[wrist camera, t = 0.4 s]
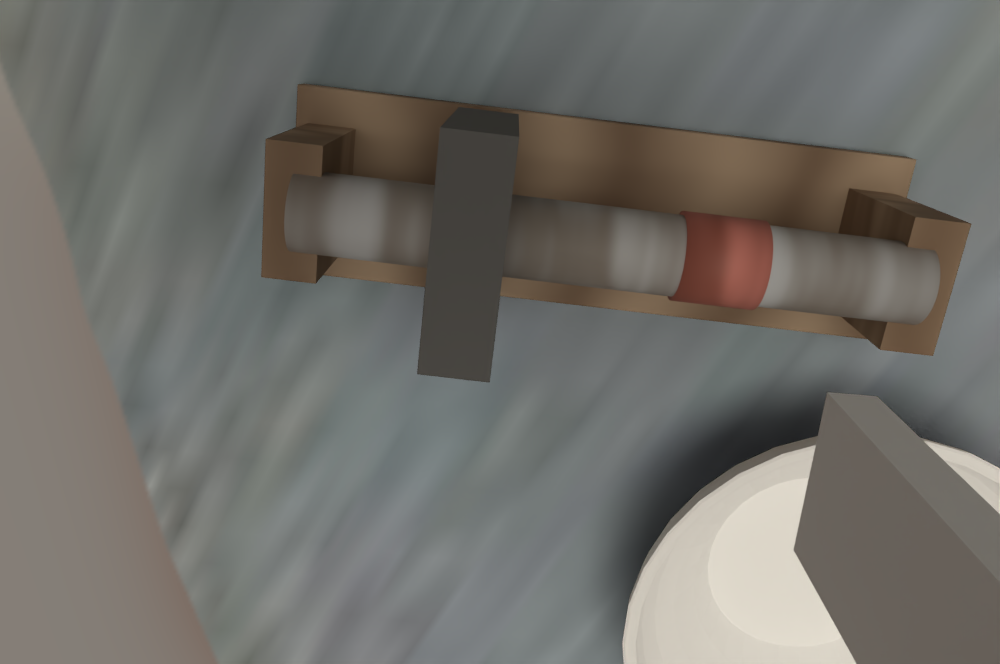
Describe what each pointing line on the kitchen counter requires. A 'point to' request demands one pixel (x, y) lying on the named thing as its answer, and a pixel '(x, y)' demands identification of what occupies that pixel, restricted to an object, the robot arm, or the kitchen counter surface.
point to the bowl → (748, 569)
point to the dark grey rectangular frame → (468, 243)
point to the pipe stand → (623, 218)
